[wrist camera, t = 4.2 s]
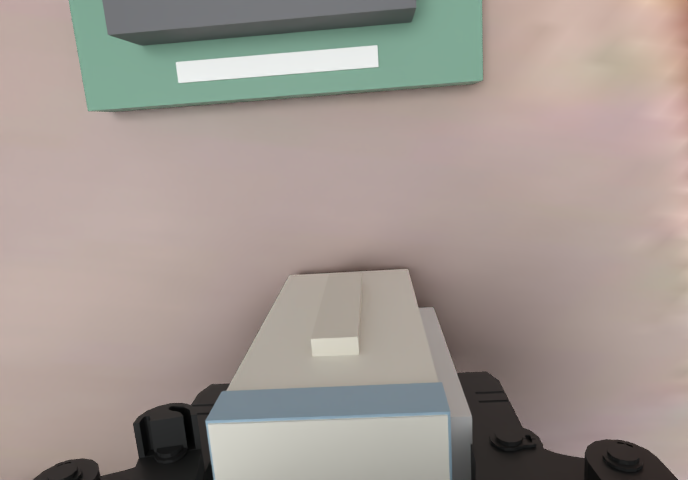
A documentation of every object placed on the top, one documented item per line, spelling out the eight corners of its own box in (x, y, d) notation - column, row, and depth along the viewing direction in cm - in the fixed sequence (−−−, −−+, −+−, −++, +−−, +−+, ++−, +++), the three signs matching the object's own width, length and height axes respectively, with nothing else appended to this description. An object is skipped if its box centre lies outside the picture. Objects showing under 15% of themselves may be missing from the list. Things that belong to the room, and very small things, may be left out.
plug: (415, 406, 18) (457, 665, 9) (300, 410, 19) (238, 666, 10) (409, 257, 17) (449, 394, 8) (286, 263, 17) (201, 403, 9)
